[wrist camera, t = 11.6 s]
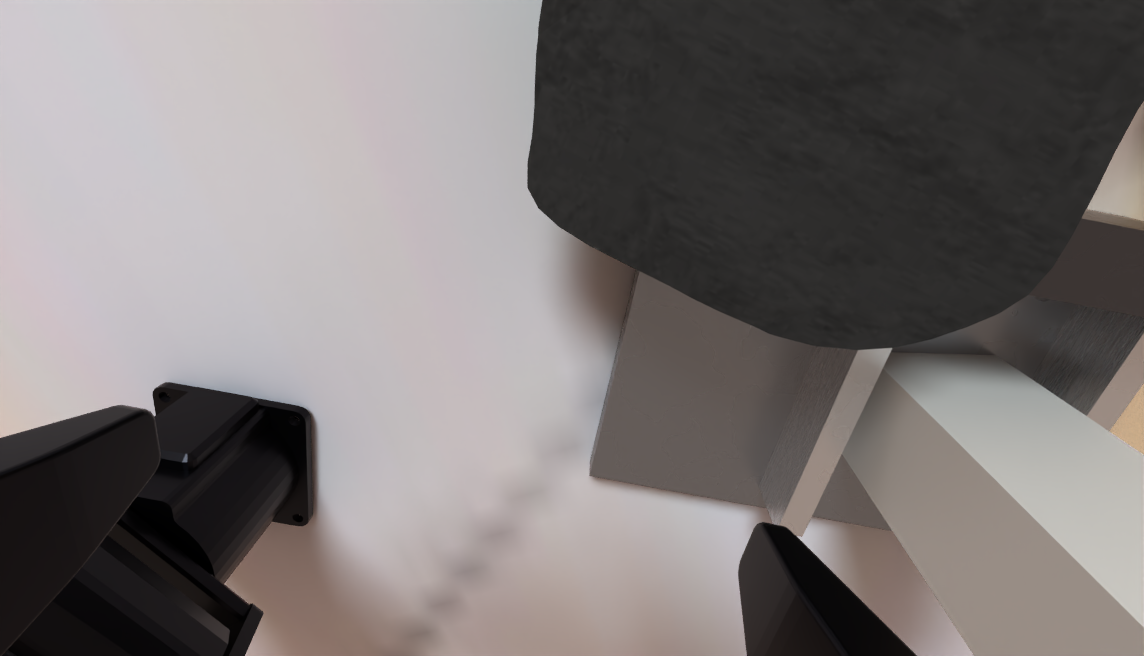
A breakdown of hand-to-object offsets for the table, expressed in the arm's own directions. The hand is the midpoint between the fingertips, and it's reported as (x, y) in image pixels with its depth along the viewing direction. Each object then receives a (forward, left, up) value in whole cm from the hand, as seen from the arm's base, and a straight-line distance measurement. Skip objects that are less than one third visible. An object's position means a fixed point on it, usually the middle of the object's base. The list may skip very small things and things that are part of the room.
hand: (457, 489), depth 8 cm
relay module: (-3, -15, -12) cm, 19 cm away
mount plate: (-2, -11, -13) cm, 17 cm away
